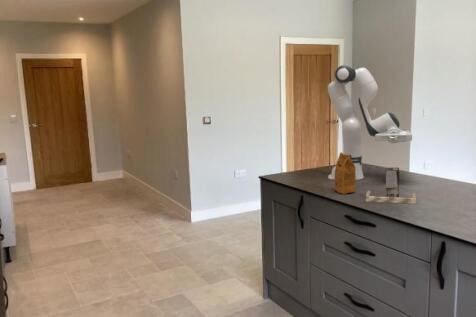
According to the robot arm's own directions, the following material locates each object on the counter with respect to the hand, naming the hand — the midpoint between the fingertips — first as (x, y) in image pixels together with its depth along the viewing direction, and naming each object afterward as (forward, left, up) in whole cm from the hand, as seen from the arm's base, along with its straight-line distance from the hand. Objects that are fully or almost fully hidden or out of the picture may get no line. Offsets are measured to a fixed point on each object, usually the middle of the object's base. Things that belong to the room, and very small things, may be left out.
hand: (393, 138), depth 239 cm
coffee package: (-25, -15, -28) cm, 41 cm away
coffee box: (+1, -27, -28) cm, 39 cm away
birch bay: (0, -28, -28) cm, 39 cm away
